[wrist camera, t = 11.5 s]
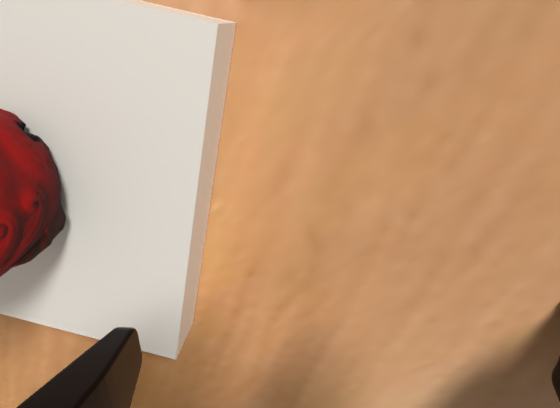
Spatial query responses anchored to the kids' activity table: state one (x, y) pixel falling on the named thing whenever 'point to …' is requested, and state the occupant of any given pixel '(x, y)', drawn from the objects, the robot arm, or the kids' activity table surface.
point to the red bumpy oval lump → (26, 194)
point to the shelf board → (118, 159)
